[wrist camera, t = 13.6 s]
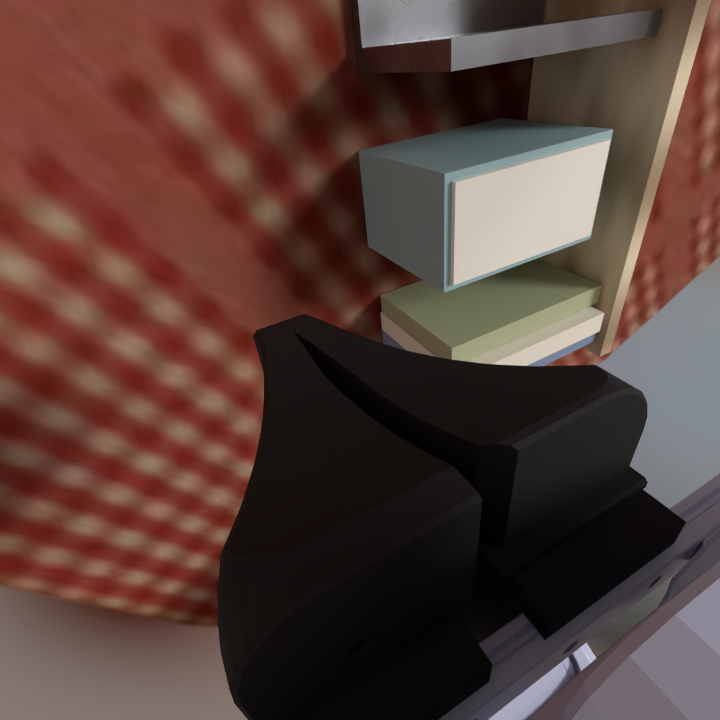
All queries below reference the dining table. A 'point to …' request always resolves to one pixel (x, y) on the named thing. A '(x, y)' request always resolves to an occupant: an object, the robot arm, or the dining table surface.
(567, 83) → the shelf wall
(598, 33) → the bookend
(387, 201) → the boxed book
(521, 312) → the book row
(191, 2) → the dining table surface
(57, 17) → the dining table surface
